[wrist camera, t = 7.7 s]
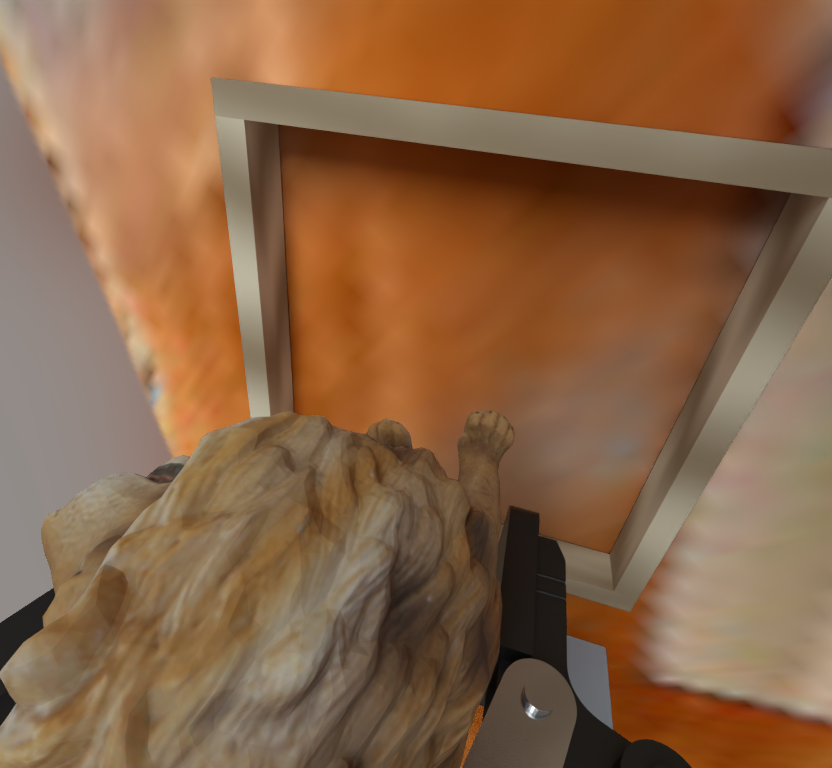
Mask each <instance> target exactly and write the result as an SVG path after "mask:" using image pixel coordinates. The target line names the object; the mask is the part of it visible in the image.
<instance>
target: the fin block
mask: <svg viewBox="0 0 832 768" xmlns="http://www.w3.org/2000/svg"><path fill="white" fill-rule="evenodd" d="M567 668H568V674H569V679H570V682H571V684H572V687H573V689H574V691H575V693H576V695H577V696H578V698H579V699H580V701H581V702H582V703H583V705H584V706H585V707H586V708H587V709H588V710H589V711H590V712H591V713H592V714H593V715H594V716H595V717H596V718H597V719H599V720H600V721H601V722H603V723H604V724H606V725H607V726H608V727H610V728H611V729H613V723H612V712H611V701H610V689H609V678H608V667H607V655H606V647H603V646H600V645H597V644H594V643H590V642H587V641H584V640H581V639H578V638H574V637H571V636H568V635H567Z"/></svg>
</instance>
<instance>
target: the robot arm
mask: <svg viewBox="0 0 832 768" xmlns="http://www.w3.org/2000/svg"><path fill="white" fill-rule="evenodd" d="M496 574H497V577H498V580H499V582H500V588H501V596H502V604H503V606H502V618H501V631H500V649H499V654H498V659H497V662H496V665H495V667H494V670H493V673H492V676H491V679H490V682H489V684H488V687H487V689H486V692H485V694H484V697H483V699H482V700H481V702H480V704H479V705H482V706H484V712H483V720H482V724H481V726H480V729H479V731H478V733H477V735H476V738H475V740H474V742H473V745H472V747H471V749H470V751H469V754H468V756H467V758H466V760H465V763H464V765H463V767H462V768H691V766H690V765H689V764H688V763H687V762H686V761H685V760H684V759H683V758H682V757H681V756H680V755H679V754H678V753H676V752H675V751H674V750H672V749H671V748H669V747H668V746H666V745H664V744H662V743H660V742H657V741H654V740H647V739H644V740H638V741H635V742H633V743H631V742H629V741H628V740H627V739H625V738H624V737H622V736H621V735H620V734H618V733H617V732H615V731H614V730H613V729H611V728H610V727H608V726H607V725H606V724H604V723H603V722H601V721H600V720H599V719H597V718H596V717H595V716H594V715H593V714H592V713H591V712H590V711H589V710H588V709H587V708H586V707H585V706H584V705H583V703H582V702H581V701H580V699H579V698H578V696H577V695H576V693H575V691H574V689H573V687H572V684H571V682H570V679H569V674H568V668H567V619H566V584H565V582H566V560H565V558H564V556H563V553H562V551H561V549H560V547H559V545H558V542H557V540H553V539H549V538H546V537H542V536H539V513H536V512H532V511H529V510H525V509H521V508H518V507H514V506H509V509H508V512H507V516H506V519H505V522H504V526H503V529H502V533H501V536H500V539H499V543H498V560H497V568H496ZM54 598H55V591H54V588H53V589H51V590H50V591H48V592H46V593H45V594H44V595H42V596H41V597H39V598H37V599H36V600H34V601H33V602H31V603H30V604H28V605H27V606H25V607H24V608H22V609H21V610H19V611H18V612H16V613H15V614H13V615H12V616H10V617H8V618H7V619H5V620H4V621H2V622H1V623H0V671H1V670H2V668H3V667H4V666H5V665H6V663H7V662H8V661H9V660H10V658H11V657H12V656H13V655H14V653H15V652H16V651H17V650H18V648H19V647H20V646H21V645H22V643H23V642H25V641H26V640H27V639H29V638H30V637H32V636H33V635H35V634H36V633H38V632H39V631H40V630H42V629H43V628H44V627H43V616H44V614H45V612H46V611H47V609H48V608H49V606H50V604H51V603H52V601H53V600H54ZM15 705H16V702H15V701H14V700H13V699H12V697H11V696H10V695H9V693H8V691H7V689H6V687H5V685H4V683H3V682H2V680H1V678H0V726H1V725H2V723H3V722H4V720H5V719H6V718H7V716H8V715H9V713H10V712H11V710H12V709H13V708H14V706H15Z"/></svg>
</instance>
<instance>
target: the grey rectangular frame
mask: <svg viewBox="0 0 832 768" xmlns="http://www.w3.org/2000/svg"><path fill="white" fill-rule="evenodd" d="M211 85H212V93H213V102H214V110H215V119H216V127H217V136H218V144H219V152H220V161H221V169H222V178H223V186H224V195H225V203H226V212H227V220H228V229H229V237H230V246H231V254H232V263H233V271H234V280H235V288H236V297H237V305H238V314H239V322H240V331H241V339H242V348H243V356H244V365H245V373H246V382H247V390H248V399H249V407H250V416H251V418H255V417H269V416H273V415H276V414H279V413H282V412H284V411H290V412H294V405H293V387H292V369H291V351H290V332H289V314H288V296H287V278H286V259H285V241H284V223H283V204H282V186H281V168H280V150H279V131H278V124H280V125H287V126H295V127H302V128H310V129H317V130H325V131H332V132H340V133H347V134H355V135H362V136H370V137H377V138H385V139H392V140H400V141H407V142H415V143H422V144H430V145H437V146H445V147H452V148H460V149H467V150H475V151H482V152H490V153H497V154H505V155H512V156H520V157H527V158H535V159H542V160H550V161H557V162H565V163H572V164H580V165H587V166H595V167H602V168H610V169H617V170H625V171H632V172H640V173H647V174H655V175H662V176H670V177H677V178H685V179H692V180H700V181H707V182H715V183H722V184H730V185H737V186H745V187H752V188H760V189H767V190H775V191H782V192H790V193H791V194H790V196H789V198H788V200H787V202H786V204H785V206H784V208H783V210H782V212H781V214H780V216H779V218H778V220H777V222H776V224H775V226H774V228H773V230H772V232H771V234H770V236H769V238H768V240H767V242H766V244H765V246H764V248H763V250H762V252H761V254H760V256H759V258H758V260H757V262H756V264H755V266H754V268H753V270H752V272H751V274H750V276H749V278H748V280H747V282H746V284H745V286H744V288H743V290H742V291H741V293H740V295H739V297H738V299H737V301H736V303H735V305H734V307H733V309H732V311H731V313H730V315H729V317H728V319H727V321H726V323H725V325H724V327H723V329H722V331H721V333H720V335H719V337H718V339H717V341H716V343H715V345H714V347H713V349H712V351H711V353H710V355H709V357H708V359H707V361H706V363H705V365H704V367H703V369H702V371H701V373H700V375H699V377H698V379H697V381H696V383H695V385H694V387H693V389H692V391H691V393H690V395H689V397H688V399H687V401H686V403H685V405H684V407H683V409H682V411H681V413H680V415H679V417H678V419H677V421H676V423H675V425H674V427H673V429H672V431H671V433H670V435H669V437H668V439H667V441H666V443H665V445H664V447H663V449H662V451H661V453H660V455H659V457H658V459H657V461H656V463H655V465H654V467H653V469H652V471H651V473H650V475H649V477H648V479H647V481H646V483H645V485H644V487H643V489H642V491H641V493H640V495H639V497H638V499H637V501H636V503H635V505H634V506H633V508H632V510H631V512H630V514H629V516H628V518H627V520H626V522H625V524H624V526H623V528H622V530H621V532H620V534H619V536H618V538H617V540H616V542H615V544H614V546H613V548H612V550H611V552H610V554H607V553H603V552H600V551H596V550H592V549H589V548H585V547H581V546H578V545H574V544H571V543H567V542H563V541H560V540H557V542H558V545H559V547H560V549H561V551H562V553H563V556H564V558H565V560H566V582H565V584H566V593H567V594H571V595H574V596H577V597H581V598H584V599H588V600H591V601H594V602H598V603H601V604H604V605H608V606H611V607H615V608H618V609H621V610H625V611H628V612H630V611H631V609H632V608H633V606H634V604H635V603H636V601H637V599H638V598H639V596H640V594H641V593H642V591H643V589H644V588H645V586H646V584H647V583H648V581H649V579H650V578H651V576H652V574H653V573H654V571H655V569H656V568H657V566H658V564H659V563H660V561H661V560H662V558H663V556H664V555H665V553H666V551H667V550H668V548H669V546H670V545H671V543H672V541H673V540H674V538H675V536H676V535H677V533H678V531H679V530H680V528H681V526H682V525H683V523H684V521H685V520H686V518H687V516H688V515H689V513H690V511H691V510H692V508H693V506H694V505H695V503H696V501H697V500H698V498H699V496H700V495H701V493H702V491H703V490H704V488H705V486H706V485H707V483H708V481H709V480H710V478H711V476H712V475H713V473H714V471H715V470H716V468H717V467H718V465H719V463H720V462H721V460H722V458H723V457H724V455H725V453H726V452H727V450H728V448H729V447H730V445H731V443H732V442H733V440H734V438H735V437H736V435H737V433H738V432H739V430H740V428H741V427H742V425H743V423H744V422H745V420H746V418H747V417H748V415H749V413H750V412H751V410H752V408H753V407H754V405H755V403H756V402H757V400H758V398H759V397H760V395H761V393H762V392H763V390H764V388H765V387H766V385H767V383H768V382H769V380H770V378H771V377H772V375H773V374H774V372H775V370H776V369H777V367H778V365H779V364H780V362H781V360H782V359H783V357H784V355H785V354H786V352H787V350H788V349H789V347H790V345H791V344H792V342H793V340H794V339H795V337H796V335H797V334H798V332H799V330H800V329H801V327H802V325H803V324H804V322H805V320H806V319H807V317H808V315H809V314H810V312H811V310H812V309H813V307H814V305H815V304H816V302H817V300H818V299H819V297H820V295H821V294H822V292H823V290H824V289H825V287H826V285H827V284H828V282H829V280H830V279H831V277H832V149H824V148H815V147H806V146H798V145H789V144H781V143H772V142H764V141H755V140H746V139H738V138H729V137H721V136H712V135H704V134H695V133H686V132H678V131H669V130H661V129H652V128H643V127H635V126H626V125H618V124H609V123H601V122H592V121H583V120H575V119H566V118H558V117H549V116H540V115H532V114H523V113H515V112H506V111H498V110H489V109H480V108H472V107H463V106H455V105H446V104H438V103H429V102H420V101H412V100H403V99H395V98H386V97H377V96H369V95H360V94H352V93H343V92H335V91H326V90H317V89H309V88H300V87H292V86H283V85H274V84H266V83H257V82H249V81H240V80H231V79H223V78H214V77H211ZM503 526H504V525H502V524H501V529H500V536H501V533H502V529H503ZM539 536H542V535H539ZM542 537H545V536H542ZM546 538H549V537H546ZM499 539H500V538H499ZM549 539H553V538H549ZM553 540H556V539H553Z"/></svg>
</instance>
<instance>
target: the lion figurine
mask: <svg viewBox="0 0 832 768" xmlns="http://www.w3.org/2000/svg"><path fill="white" fill-rule="evenodd" d="M513 441H514V429H513V427H512V426H511V424H510V423H509V422H508V420H507V419H506V418H505V417H503V416H502V415H500V414H498V413H496V412H494V411H483V412H474V413H472V414H470V415H469V417H468V419H467V422H466V424H465V428H464V434H463V435H462V436H461V437H460V439H459V442H458V451H459V459H460V470H459V479H458V481H456V480H455V479H450V478H448V477H447V475H446V473H445V471H444V469H443V468H442V467H441V466H440V464H439V463H438V461H437V460H436V458H435V456H434V454H433V452H431V451H430V450H429V449H428V450H427V449H425V448H422V447H421V448H417V449H413V448H412V443H411V437H410V434H409V432H408V431H407V429H406V428H405V427H404V426H403V425H402V424H400V423H398V422H395V421H392V420H390V419H384V420H382V421H381V422H379V423H375V424H373V425H371V426H370V427H369V429H368V432H367V433H366V434H361V433H355V432H352V431H347V430H343V429H340V428H337V427H335V426H332V425H331V424H330V422H329V421H328V420H327V418H326V417H323V416H321V415H308V416H307V415H299V414H296V413H294V412H290V411H284V412H282V413H279V414H276V415H273V416H269V417H255V418H251V419H248V420H245V421H243V422H240V423H237V424H234V425H231V426H228V427H224V428H221V429H218V430H215V431H212V432H209V433H207V434H206V435H205V436H204V437H202V438H201V440H200V442H199V444H198V446H197V448H196V449H195V451H194V452H193V454H192V455H191V457H188V456H184V455H182V456H179V457H176V458H173V459H171V460H169V461H167V462H166V463H164V464H163V465H162V466H159V467H158V468H156V469H155V470H154V471H153V472H152V473H150V474H149V475H148V476H147V477H144V476H141V475H138V474H135V473H116V474H113V475H110V476H107V477H105V478H103V479H101V480H99V481H97V482H95V483H93V484H92V485H90V486H89V487H87V488H86V489H85V490H83V491H82V492H80V493H79V494H77V495H76V496H75V497H74V498H73V499H72V500H70V501H69V502H68V503H67V505H66V506H64V507H63V508H62V509H60V510H57V511H55V512H52V513H50V514H49V515H48V516H47V517H46V518H45V520H44V523H43V526H42V529H41V532H42V533H41V534H42V543H43V548H44V552H45V556H46V559H47V561H48V564H49V567H50V569H51V574H52V581H53V587H54V591H55V598H54V600H53V601H52V603H51V604H50V606H49V608H48V609H47V611H46V612H45V614H44V616H43V627H44V628H43V629H42V630H40V631H39V632H38V633H36V634H35V635H33V636H32V637H30V638H29V639H27V640H26V641H25V642H23V643H22V645H21V646H20V647H19V648H18V650H17V651H16V652H15V653H14V655H13V656H12V657H11V658H10V660H9V661H8V662H7V663H6V665H5V666H4V667H3V668H2V670H1V671H0V678H1V680H2V682H3V683H4V685H5V687H6V689H7V691H8V693H9V695H10V696H11V697H12V699H13V700H14V701H15V702H16V705H15V706H14V708H13V709H12V710H11V712H10V713H9V715H8V716H7V718H6V719H5V720H4V722H3V723H2V725H1V726H0V768H460V765H461V762H462V758H463V754H464V749H465V745H466V741H467V736H468V731H469V729H470V727H471V725H472V722H473V718H474V715H475V711H476V709H477V707H478V705H479V704H480V702H481V700H482V699H483V697H484V694H485V692H486V689H487V687H488V684H489V682H490V679H491V676H492V673H493V670H494V667H495V665H496V662H497V659H498V654H499V649H500V631H501V618H502V606H503V604H502V596H501V588H500V582H499V580H498V577H497V574H496V568H497V560H498V543H499V538H500V529H501V513H500V502H499V499H500V482H499V476H498V467H499V463H500V460H501V458H502V456H503V455H504V453H505V452H506V451H507V450H508V449H509V447H510V446H511V445H512V443H513Z"/></svg>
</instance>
